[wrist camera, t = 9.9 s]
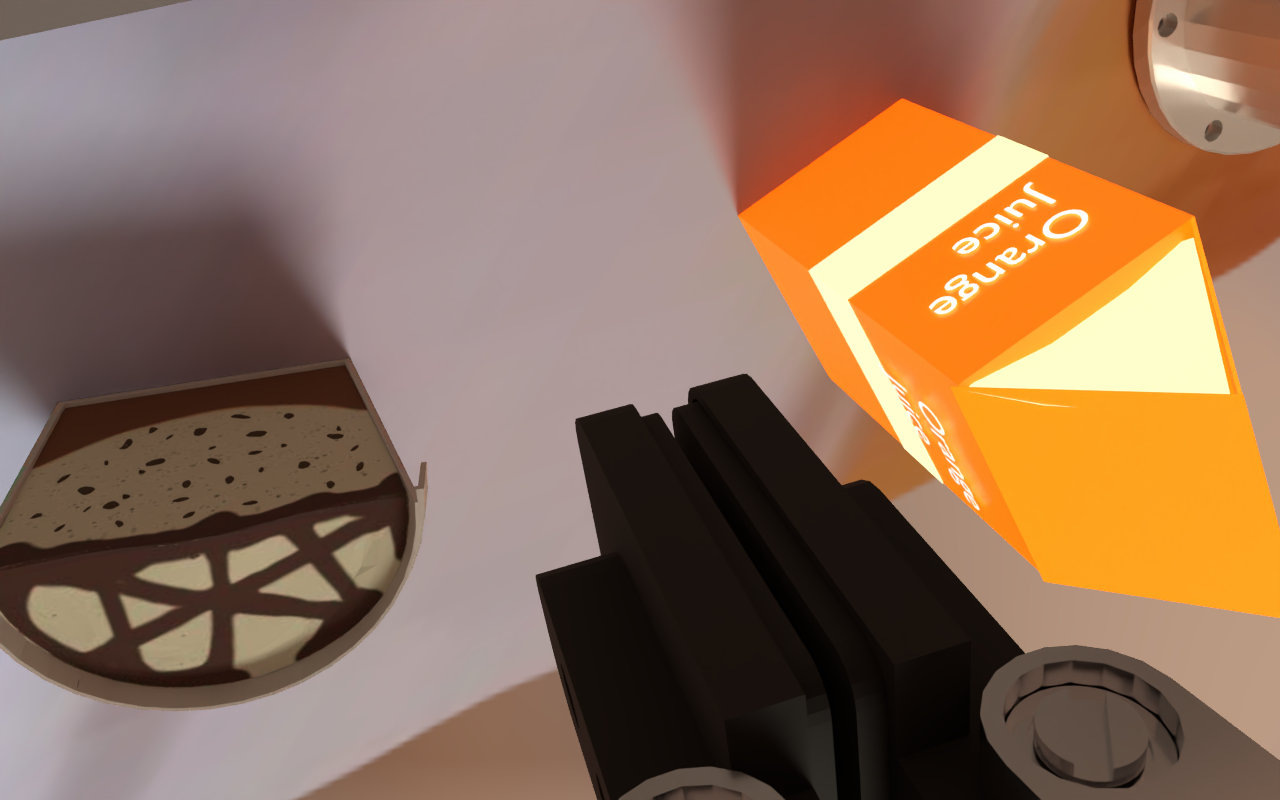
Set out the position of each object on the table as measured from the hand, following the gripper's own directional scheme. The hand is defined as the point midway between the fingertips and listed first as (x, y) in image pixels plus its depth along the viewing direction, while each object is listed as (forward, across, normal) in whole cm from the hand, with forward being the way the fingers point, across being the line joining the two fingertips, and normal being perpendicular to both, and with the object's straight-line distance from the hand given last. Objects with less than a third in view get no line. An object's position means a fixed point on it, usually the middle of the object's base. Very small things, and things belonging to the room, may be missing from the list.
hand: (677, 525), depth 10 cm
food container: (+27, +10, +12) cm, 31 cm away
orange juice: (+28, -15, +11) cm, 34 cm away
